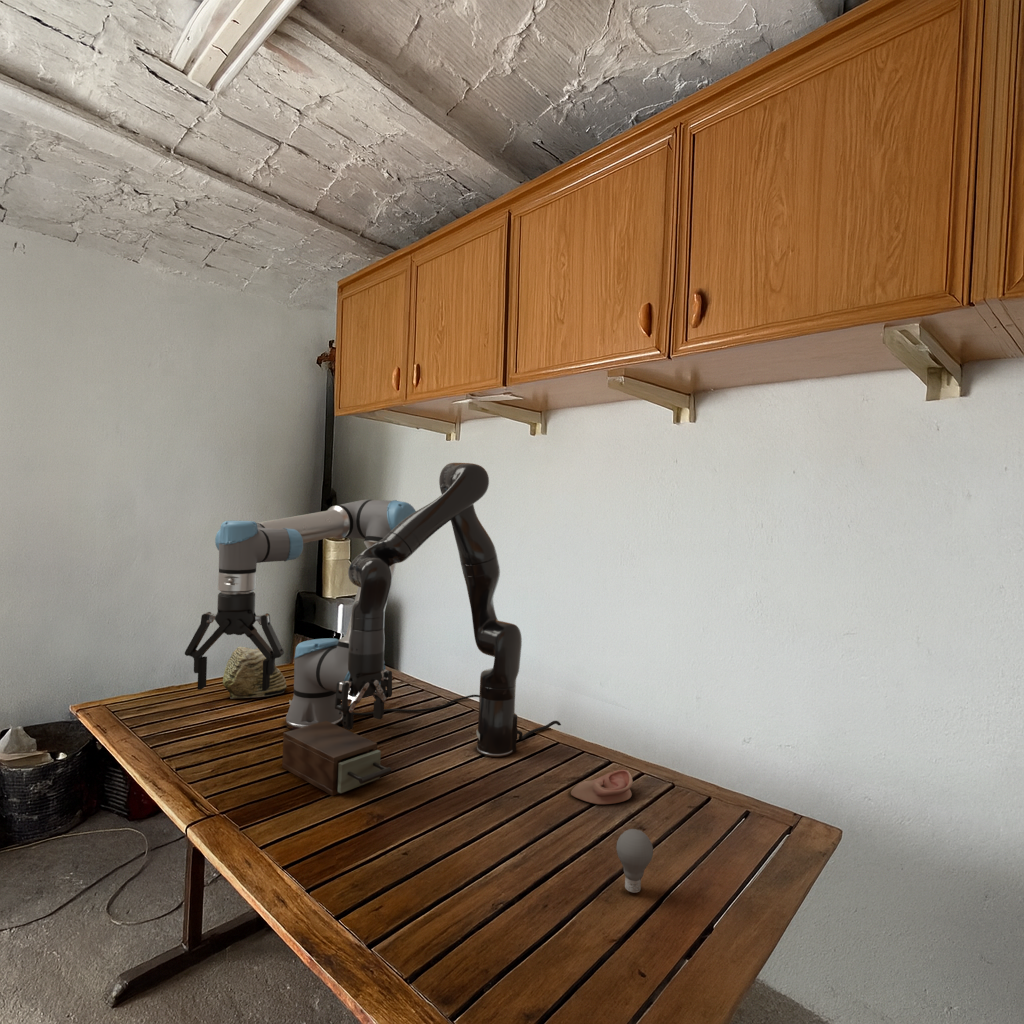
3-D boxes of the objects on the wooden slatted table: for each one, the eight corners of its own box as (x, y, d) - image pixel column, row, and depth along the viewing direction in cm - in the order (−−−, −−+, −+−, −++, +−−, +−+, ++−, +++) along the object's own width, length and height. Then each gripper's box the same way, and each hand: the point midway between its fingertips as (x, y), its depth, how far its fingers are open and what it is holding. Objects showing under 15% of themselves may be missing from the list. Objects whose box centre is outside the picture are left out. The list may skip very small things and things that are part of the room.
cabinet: (375, 779, 143) (377, 743, 143) (332, 796, 134) (333, 757, 134) (325, 753, 156) (326, 720, 156) (282, 767, 147) (283, 732, 147)
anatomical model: (569, 782, 136) (575, 761, 148) (568, 800, 136) (574, 778, 148) (632, 790, 134) (633, 768, 145) (631, 809, 134) (632, 785, 145)
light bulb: (610, 879, 108) (613, 822, 108) (644, 879, 109) (647, 822, 109) (619, 902, 102) (622, 840, 102) (655, 901, 103) (658, 840, 103)
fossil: (218, 695, 195) (220, 647, 195) (278, 685, 208) (279, 640, 207) (228, 703, 189) (230, 653, 188) (289, 692, 201) (290, 645, 201)
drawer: (395, 786, 138) (396, 758, 138) (356, 802, 130) (357, 772, 130) (331, 754, 153) (332, 729, 153) (292, 767, 145) (293, 740, 145)
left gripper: (169, 592, 133) (166, 692, 134) (290, 596, 135) (287, 694, 136) (185, 587, 141) (182, 682, 141) (299, 590, 143) (296, 684, 143)
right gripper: (353, 657, 128) (350, 737, 129) (402, 646, 140) (399, 719, 141) (328, 651, 133) (325, 728, 133) (378, 640, 144) (375, 711, 145)
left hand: (233, 688), depth 138 cm, fingers open, 13 cm apart
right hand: (363, 723), depth 137 cm, fingers open, 8 cm apart
